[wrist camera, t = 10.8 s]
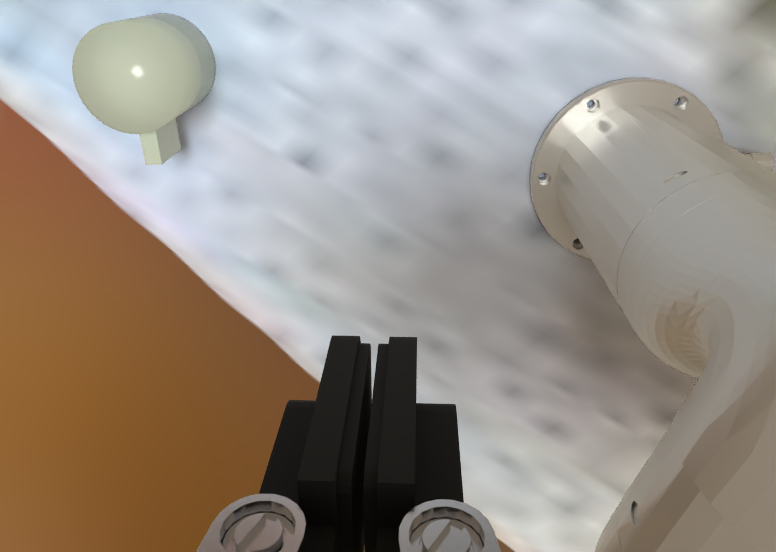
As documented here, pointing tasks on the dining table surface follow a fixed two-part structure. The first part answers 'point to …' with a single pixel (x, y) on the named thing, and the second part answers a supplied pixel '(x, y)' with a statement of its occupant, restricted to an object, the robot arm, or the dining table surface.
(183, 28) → the sage mug
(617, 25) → the dining table surface
